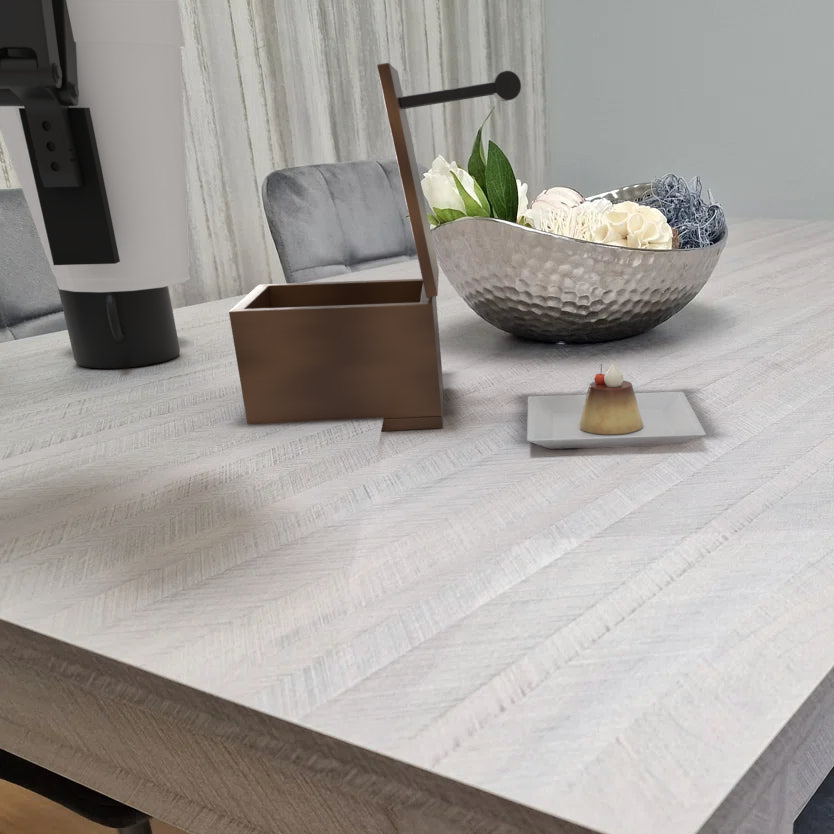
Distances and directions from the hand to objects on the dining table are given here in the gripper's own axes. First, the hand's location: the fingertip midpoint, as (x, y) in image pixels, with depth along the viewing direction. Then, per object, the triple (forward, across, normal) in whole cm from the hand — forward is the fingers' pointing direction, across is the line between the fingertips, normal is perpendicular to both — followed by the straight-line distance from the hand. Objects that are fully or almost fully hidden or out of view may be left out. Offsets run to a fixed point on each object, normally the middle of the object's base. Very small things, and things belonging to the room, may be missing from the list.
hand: (118, 249), depth 53 cm
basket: (+15, +24, -8) cm, 29 cm away
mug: (+16, +47, +15) cm, 51 cm away
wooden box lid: (-2, +24, -14) cm, 28 cm away
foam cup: (+2, 0, 0) cm, 2 cm away
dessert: (+15, +15, -27) cm, 34 cm away
